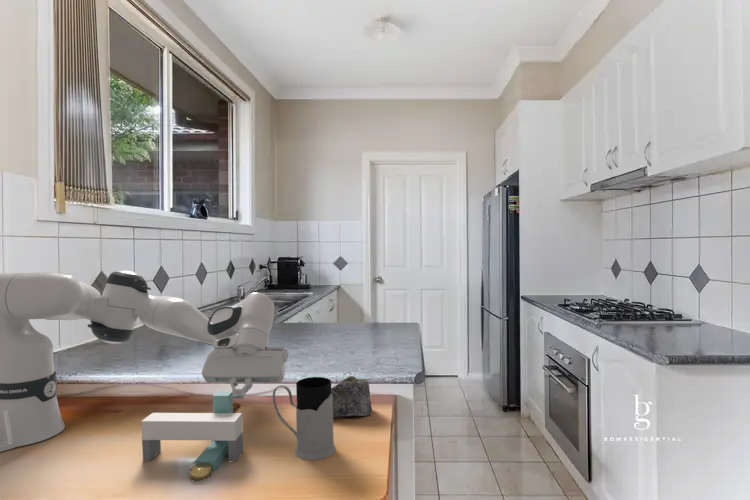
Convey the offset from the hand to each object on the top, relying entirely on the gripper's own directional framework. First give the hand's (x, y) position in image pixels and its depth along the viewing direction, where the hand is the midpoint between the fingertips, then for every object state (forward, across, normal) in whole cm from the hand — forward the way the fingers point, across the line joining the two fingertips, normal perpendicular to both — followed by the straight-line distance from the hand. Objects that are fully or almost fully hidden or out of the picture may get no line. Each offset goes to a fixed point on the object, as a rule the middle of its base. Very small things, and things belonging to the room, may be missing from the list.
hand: (237, 397), depth 114 cm
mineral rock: (-2, -25, -13) cm, 28 cm away
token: (+20, 0, +9) cm, 22 cm away
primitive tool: (+1, +7, -11) cm, 13 cm away
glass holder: (+12, -18, +1) cm, 22 cm away
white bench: (+15, +5, +4) cm, 16 cm away
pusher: (+15, 0, +4) cm, 15 cm away
